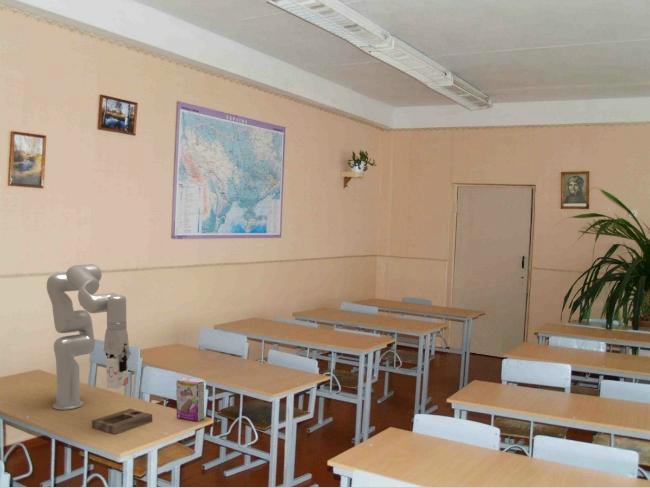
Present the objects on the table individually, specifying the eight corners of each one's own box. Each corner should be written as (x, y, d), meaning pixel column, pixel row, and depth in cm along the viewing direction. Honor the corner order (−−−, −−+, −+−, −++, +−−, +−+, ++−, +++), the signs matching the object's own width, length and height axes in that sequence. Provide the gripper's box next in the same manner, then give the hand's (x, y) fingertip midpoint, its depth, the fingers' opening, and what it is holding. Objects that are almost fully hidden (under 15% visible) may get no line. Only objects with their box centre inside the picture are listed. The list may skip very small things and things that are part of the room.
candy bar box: (175, 418, 271) (175, 380, 270) (183, 415, 275) (183, 377, 275) (197, 422, 266) (197, 383, 265) (204, 418, 271) (204, 380, 270)
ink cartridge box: (117, 382, 264) (117, 347, 264) (128, 383, 263) (128, 348, 263) (106, 388, 256) (105, 351, 255) (117, 389, 255) (116, 352, 254)
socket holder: (92, 427, 259) (92, 420, 259) (129, 415, 275) (129, 408, 274) (114, 434, 251) (114, 426, 251) (152, 421, 267) (152, 414, 267)
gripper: (95, 325, 260) (95, 369, 261) (123, 329, 251) (124, 374, 252) (110, 322, 267) (111, 365, 267) (138, 326, 257) (139, 371, 258)
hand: (117, 369), depth 259 cm, fingers closed on ink cartridge box, 6 cm apart
